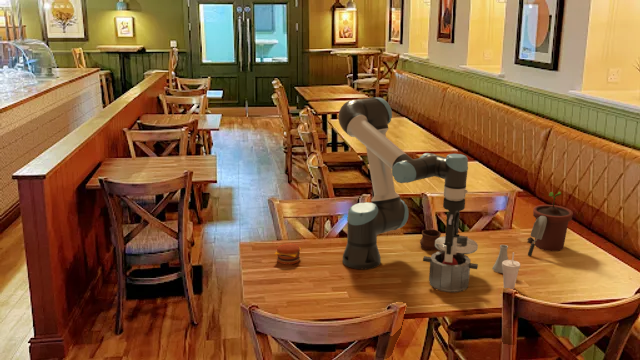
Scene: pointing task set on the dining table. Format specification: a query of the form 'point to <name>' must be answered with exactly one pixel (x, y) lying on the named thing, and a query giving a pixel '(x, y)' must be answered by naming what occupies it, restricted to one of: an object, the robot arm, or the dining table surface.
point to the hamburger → (288, 253)
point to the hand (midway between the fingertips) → (450, 257)
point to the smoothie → (510, 272)
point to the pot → (449, 272)
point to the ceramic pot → (429, 239)
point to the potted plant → (549, 226)
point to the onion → (450, 262)
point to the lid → (458, 245)
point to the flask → (501, 259)
